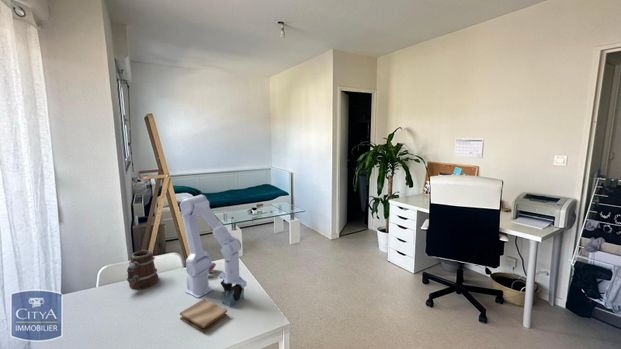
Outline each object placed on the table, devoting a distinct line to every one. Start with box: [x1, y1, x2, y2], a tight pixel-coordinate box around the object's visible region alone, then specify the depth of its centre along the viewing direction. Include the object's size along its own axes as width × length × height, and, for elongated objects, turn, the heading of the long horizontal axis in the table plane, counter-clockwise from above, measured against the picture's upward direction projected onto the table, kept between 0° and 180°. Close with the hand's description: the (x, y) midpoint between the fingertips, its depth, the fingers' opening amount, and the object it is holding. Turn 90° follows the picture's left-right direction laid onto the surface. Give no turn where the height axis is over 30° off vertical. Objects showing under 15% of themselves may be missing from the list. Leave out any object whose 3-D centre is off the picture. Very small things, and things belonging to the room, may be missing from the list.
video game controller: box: [208, 261, 217, 275], centre depth 142 cm, size 10×5×7 cm, turn 169°
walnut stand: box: [179, 298, 229, 334], centre depth 108 cm, size 14×11×3 cm
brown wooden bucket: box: [126, 249, 159, 290], centre depth 131 cm, size 16×12×15 cm
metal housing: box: [221, 286, 245, 308], centre depth 119 cm, size 5×8×6 cm, turn 148°
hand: (233, 297), depth 119 cm, fingers closed on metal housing, 5 cm apart
